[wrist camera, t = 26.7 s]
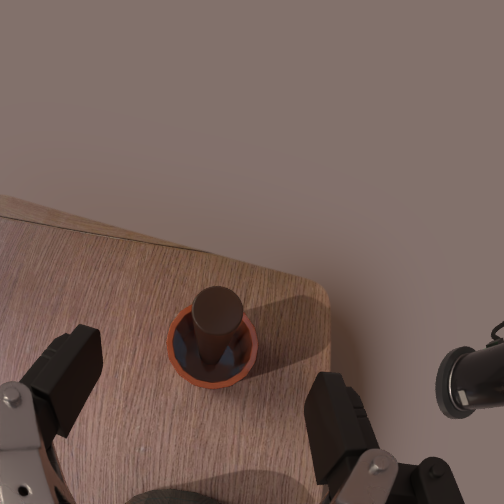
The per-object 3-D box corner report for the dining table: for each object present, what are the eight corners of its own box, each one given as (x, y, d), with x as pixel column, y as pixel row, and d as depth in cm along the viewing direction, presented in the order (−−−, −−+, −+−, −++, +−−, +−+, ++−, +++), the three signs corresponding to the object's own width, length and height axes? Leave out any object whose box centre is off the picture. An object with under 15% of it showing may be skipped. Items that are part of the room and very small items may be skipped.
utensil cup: (237, 316, 31) (247, 293, 24) (251, 380, 28) (266, 378, 21) (171, 326, 29) (161, 306, 22) (183, 392, 27) (175, 394, 20)
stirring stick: (219, 342, 29) (238, 282, 13) (223, 362, 28) (248, 331, 12) (197, 345, 28) (188, 289, 12) (201, 366, 28) (196, 339, 12)
